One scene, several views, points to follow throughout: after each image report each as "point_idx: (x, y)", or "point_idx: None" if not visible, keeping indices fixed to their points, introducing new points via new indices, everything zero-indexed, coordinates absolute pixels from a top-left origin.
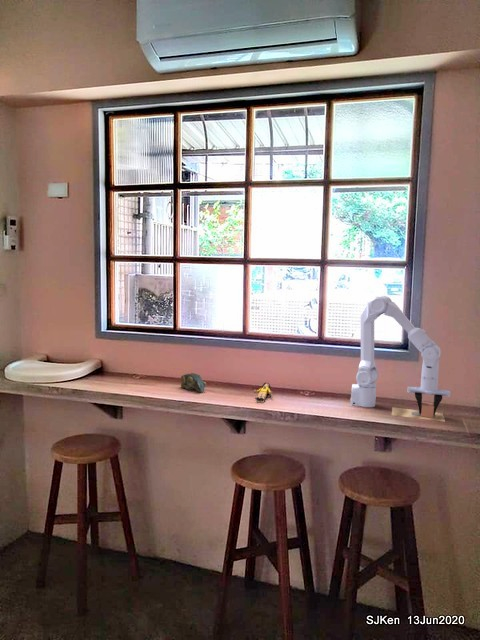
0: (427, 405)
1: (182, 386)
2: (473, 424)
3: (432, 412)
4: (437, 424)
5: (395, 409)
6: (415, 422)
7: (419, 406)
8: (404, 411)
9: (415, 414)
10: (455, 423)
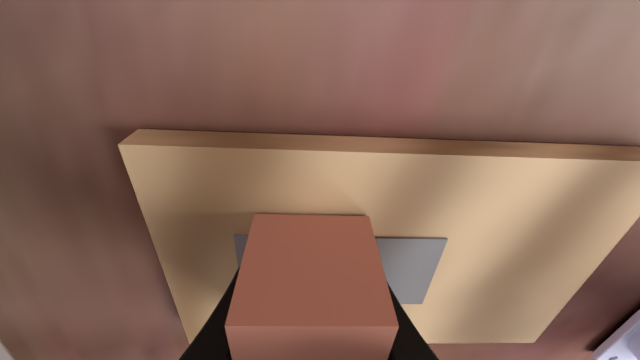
0: (315, 357)
1: None
2: None
3: (255, 258)
4: (213, 119)
5: (534, 313)
6: (438, 101)
7: (408, 332)
8: (479, 296)
9: (410, 254)
10: (67, 212)
